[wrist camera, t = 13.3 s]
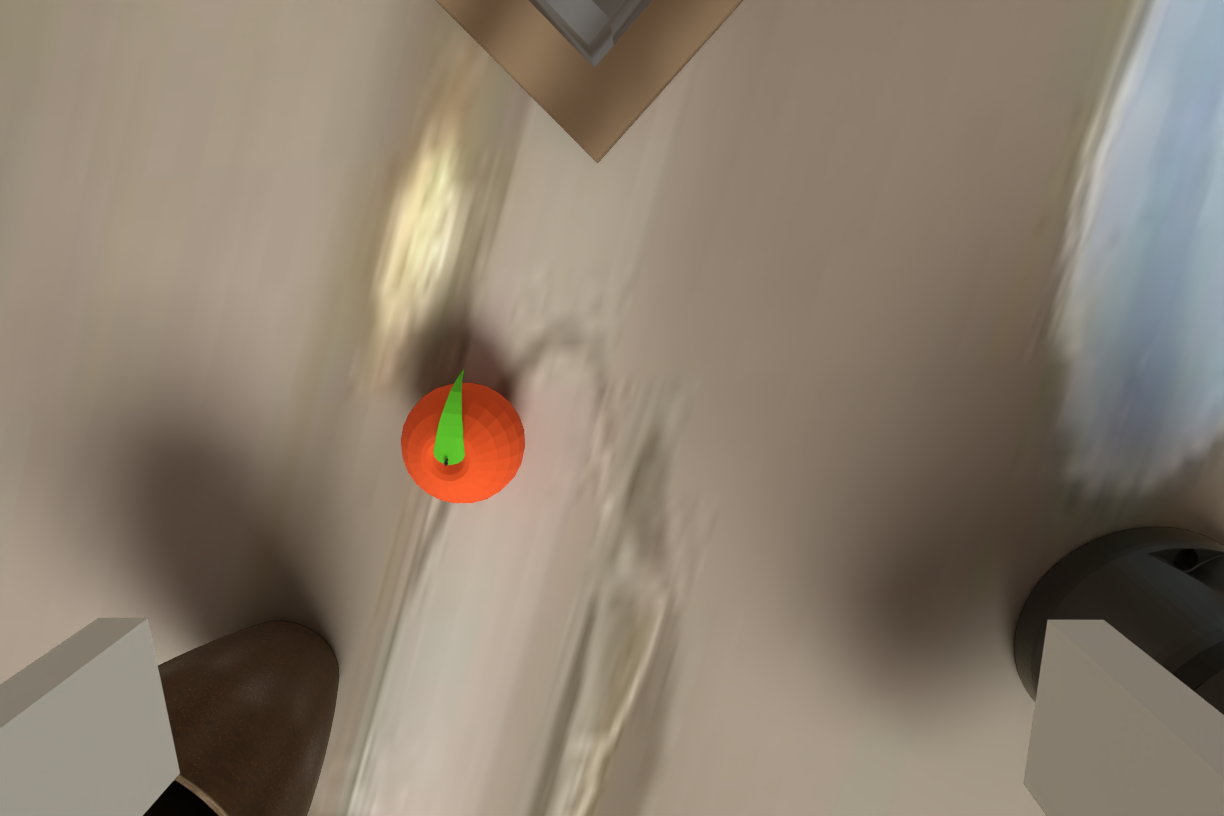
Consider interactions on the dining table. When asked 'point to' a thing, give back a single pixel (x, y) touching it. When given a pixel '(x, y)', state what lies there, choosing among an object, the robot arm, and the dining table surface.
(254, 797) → the plant pot
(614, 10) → the walnut holder
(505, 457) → the clementine
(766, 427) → the dining table surface
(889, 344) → the dining table surface
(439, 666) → the dining table surface
